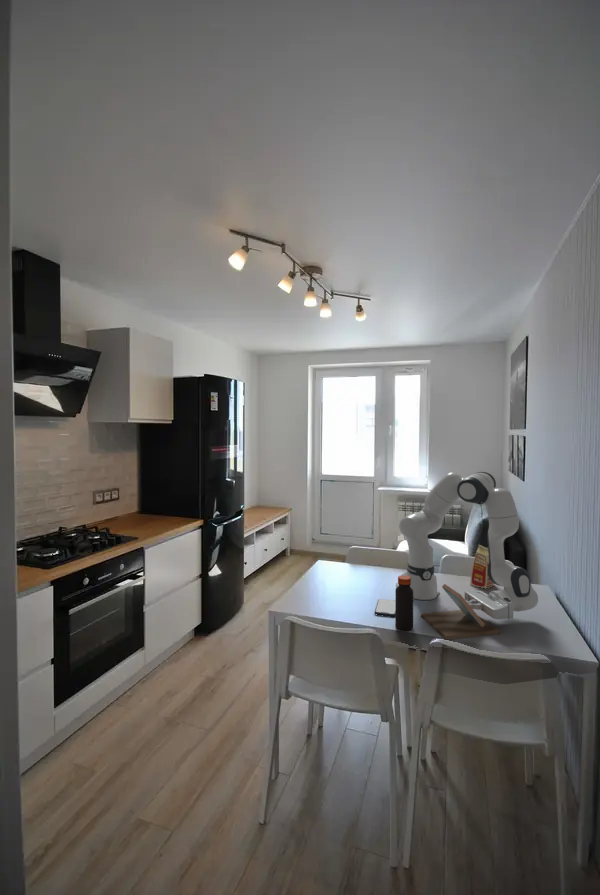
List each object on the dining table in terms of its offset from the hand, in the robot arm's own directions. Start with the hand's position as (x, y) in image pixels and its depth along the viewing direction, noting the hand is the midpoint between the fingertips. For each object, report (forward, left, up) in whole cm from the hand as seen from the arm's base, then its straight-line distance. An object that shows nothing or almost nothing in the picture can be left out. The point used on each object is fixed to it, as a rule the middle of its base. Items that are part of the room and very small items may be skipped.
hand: (467, 605), depth 169 cm
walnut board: (-1, -3, -8) cm, 9 cm away
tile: (0, +3, -7) cm, 7 cm away
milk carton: (-38, +33, -8) cm, 51 cm away
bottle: (-3, -25, -8) cm, 27 cm away
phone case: (-21, -25, -8) cm, 34 cm away
